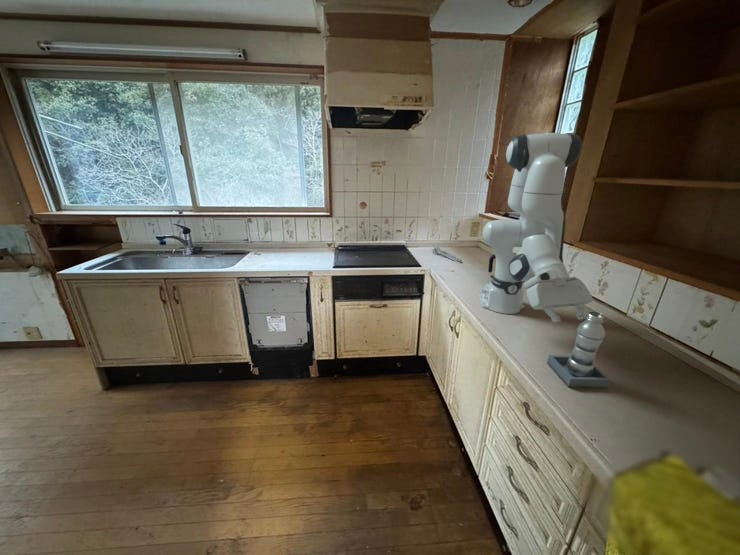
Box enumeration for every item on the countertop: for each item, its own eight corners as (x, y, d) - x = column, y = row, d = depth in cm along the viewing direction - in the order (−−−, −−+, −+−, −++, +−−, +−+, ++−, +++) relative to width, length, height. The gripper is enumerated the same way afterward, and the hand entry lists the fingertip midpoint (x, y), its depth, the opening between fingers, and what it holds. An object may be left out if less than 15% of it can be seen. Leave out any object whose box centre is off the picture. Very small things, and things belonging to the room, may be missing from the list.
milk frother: (510, 276, 170) (514, 251, 164) (519, 286, 155) (524, 259, 150) (484, 275, 171) (488, 250, 166) (491, 285, 157) (496, 258, 151)
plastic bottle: (580, 366, 91) (598, 308, 84) (596, 381, 85) (617, 320, 78) (560, 366, 91) (576, 308, 84) (574, 381, 85) (593, 320, 78)
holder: (546, 363, 93) (549, 355, 92) (582, 363, 93) (584, 355, 92) (568, 387, 83) (570, 378, 82) (607, 388, 83) (610, 379, 82)
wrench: (458, 267, 194) (428, 251, 216) (460, 266, 195) (430, 251, 217) (461, 256, 190) (430, 241, 213) (463, 255, 191) (432, 241, 214)
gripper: (571, 280, 98) (588, 320, 93) (519, 284, 94) (534, 326, 89) (586, 272, 93) (606, 314, 87) (532, 276, 88) (549, 320, 83)
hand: (570, 320), depth 88 cm, fingers open, 8 cm apart
